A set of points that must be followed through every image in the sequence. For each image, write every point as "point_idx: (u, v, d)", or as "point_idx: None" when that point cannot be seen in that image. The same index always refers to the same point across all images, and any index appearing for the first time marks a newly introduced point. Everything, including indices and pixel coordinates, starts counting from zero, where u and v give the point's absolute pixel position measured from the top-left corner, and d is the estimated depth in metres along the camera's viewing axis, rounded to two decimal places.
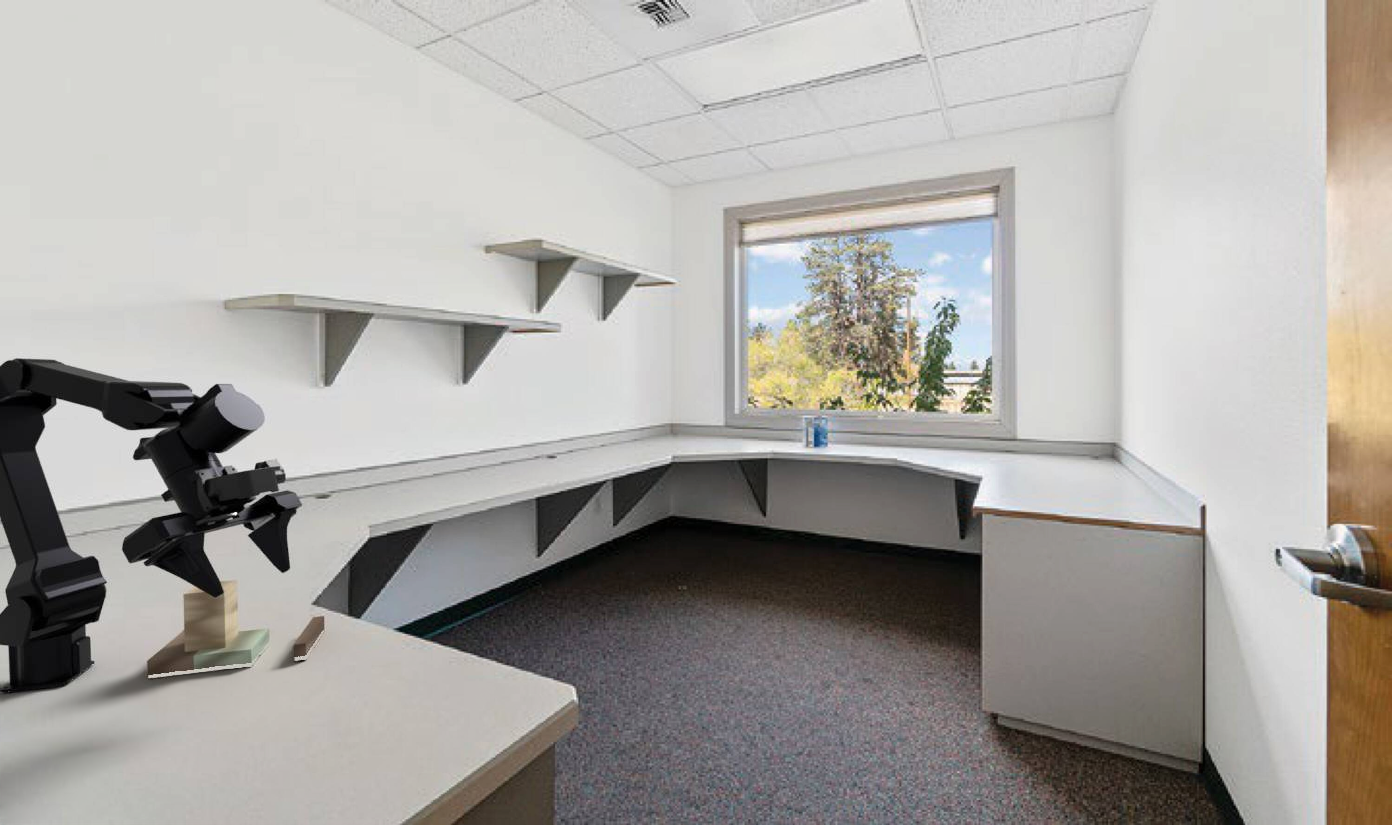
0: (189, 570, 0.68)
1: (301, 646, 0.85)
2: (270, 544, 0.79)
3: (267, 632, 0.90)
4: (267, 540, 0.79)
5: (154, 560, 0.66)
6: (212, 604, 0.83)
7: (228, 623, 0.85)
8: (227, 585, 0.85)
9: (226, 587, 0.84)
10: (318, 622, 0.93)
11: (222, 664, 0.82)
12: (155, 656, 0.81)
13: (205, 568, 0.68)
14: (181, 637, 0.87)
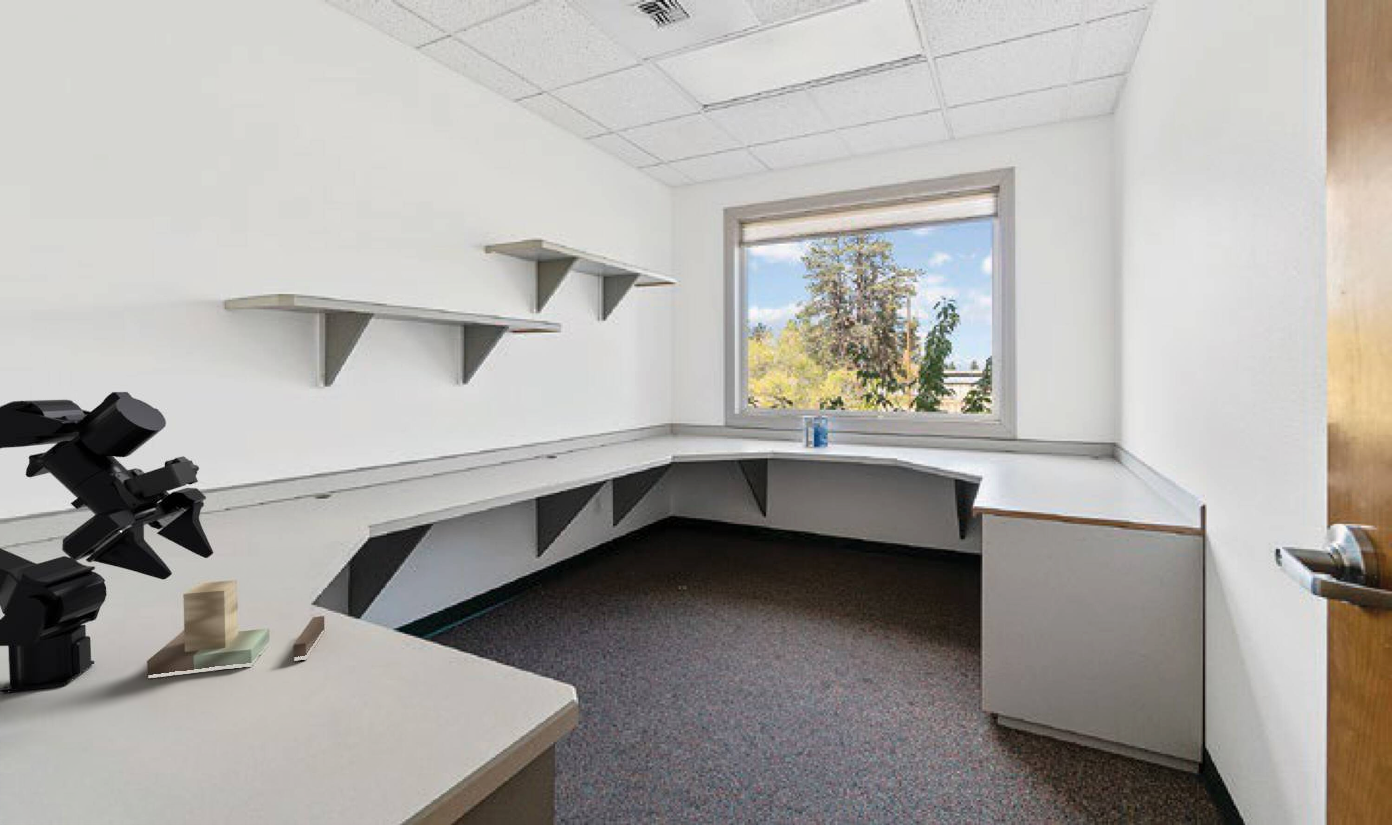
0: (133, 559, 0.75)
1: (301, 646, 0.85)
2: (187, 535, 0.85)
3: (267, 632, 0.90)
4: (182, 532, 0.85)
5: (99, 554, 0.73)
6: (212, 604, 0.83)
7: (228, 623, 0.85)
8: (227, 585, 0.85)
9: (226, 587, 0.84)
10: (318, 622, 0.93)
11: (222, 664, 0.82)
12: (155, 656, 0.81)
13: (151, 554, 0.76)
14: (181, 637, 0.87)
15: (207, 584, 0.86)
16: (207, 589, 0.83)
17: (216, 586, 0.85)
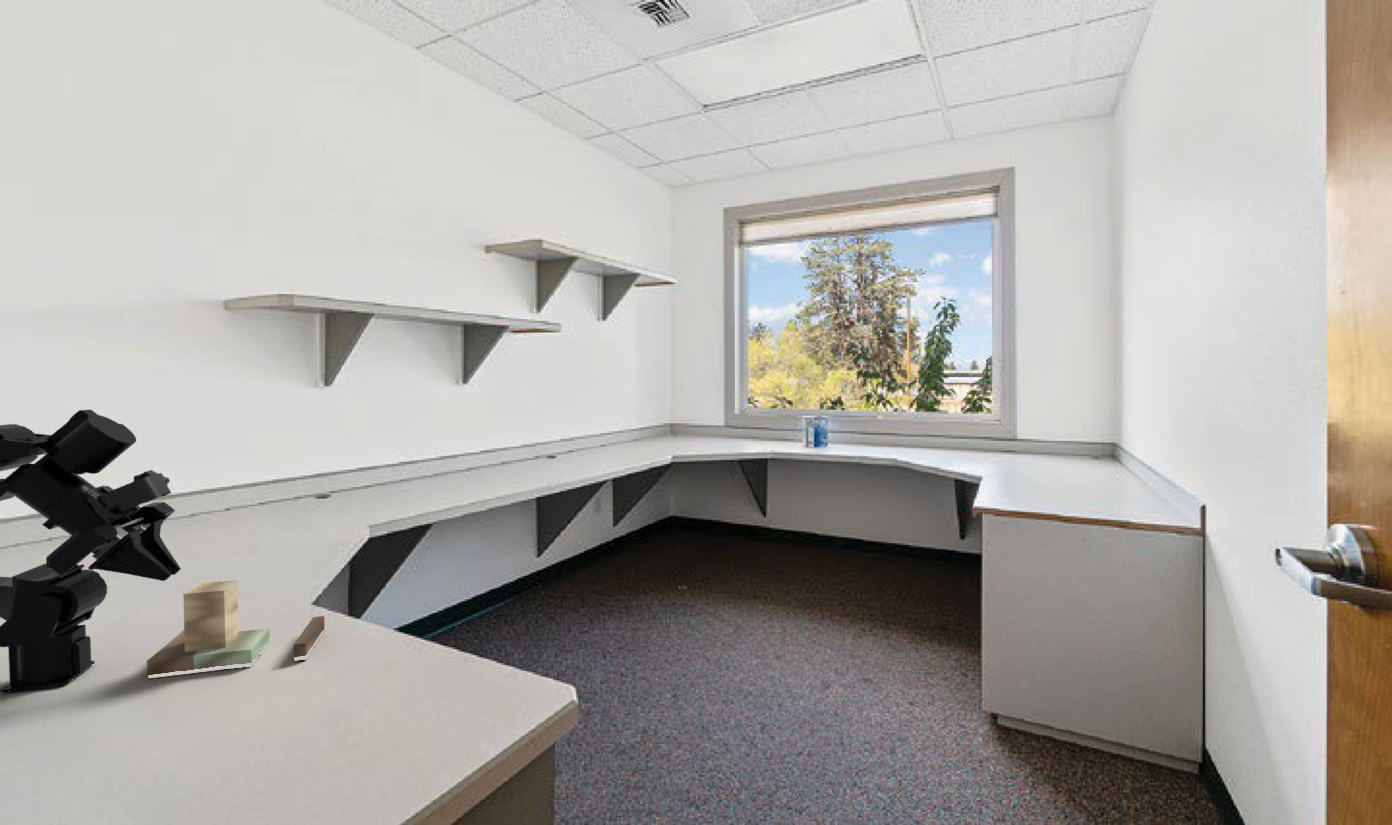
0: (133, 564, 0.80)
1: (301, 646, 0.85)
2: (150, 554, 0.83)
3: (267, 632, 0.90)
4: None
5: (101, 561, 0.77)
6: (212, 604, 0.83)
7: (228, 623, 0.85)
8: (227, 585, 0.85)
9: (226, 587, 0.84)
10: (318, 622, 0.93)
11: (222, 664, 0.82)
12: (155, 656, 0.81)
13: (150, 558, 0.80)
14: (181, 637, 0.87)
15: (207, 584, 0.86)
16: (207, 589, 0.83)
17: (216, 586, 0.85)
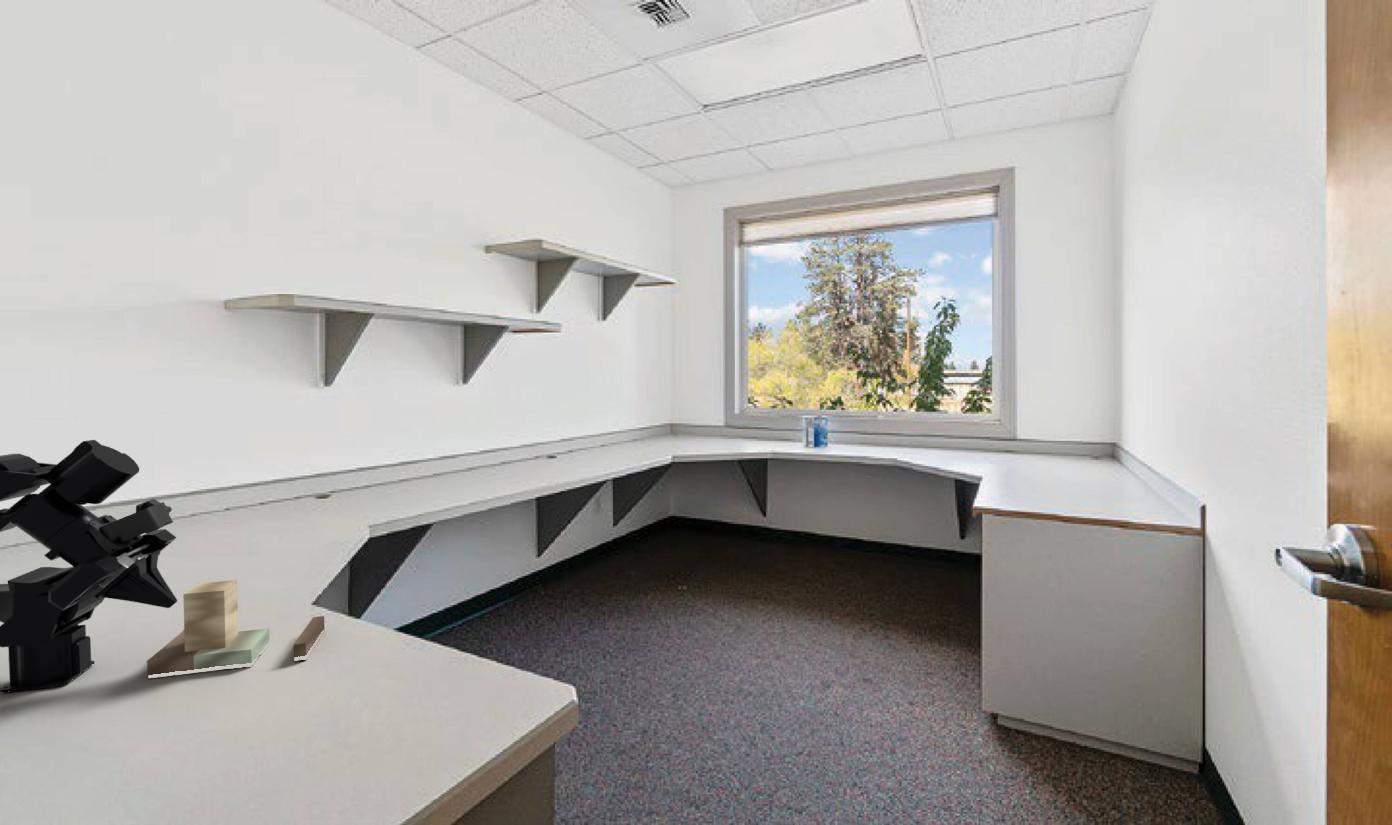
0: (139, 592, 0.81)
1: (301, 646, 0.85)
2: None
3: (267, 632, 0.90)
4: None
5: (107, 590, 0.78)
6: (212, 604, 0.83)
7: (228, 623, 0.85)
8: (227, 585, 0.85)
9: (226, 587, 0.84)
10: (318, 622, 0.93)
11: (222, 664, 0.82)
12: (155, 656, 0.81)
13: (155, 585, 0.82)
14: (181, 637, 0.87)
15: (207, 584, 0.86)
16: (207, 589, 0.83)
17: (216, 586, 0.85)
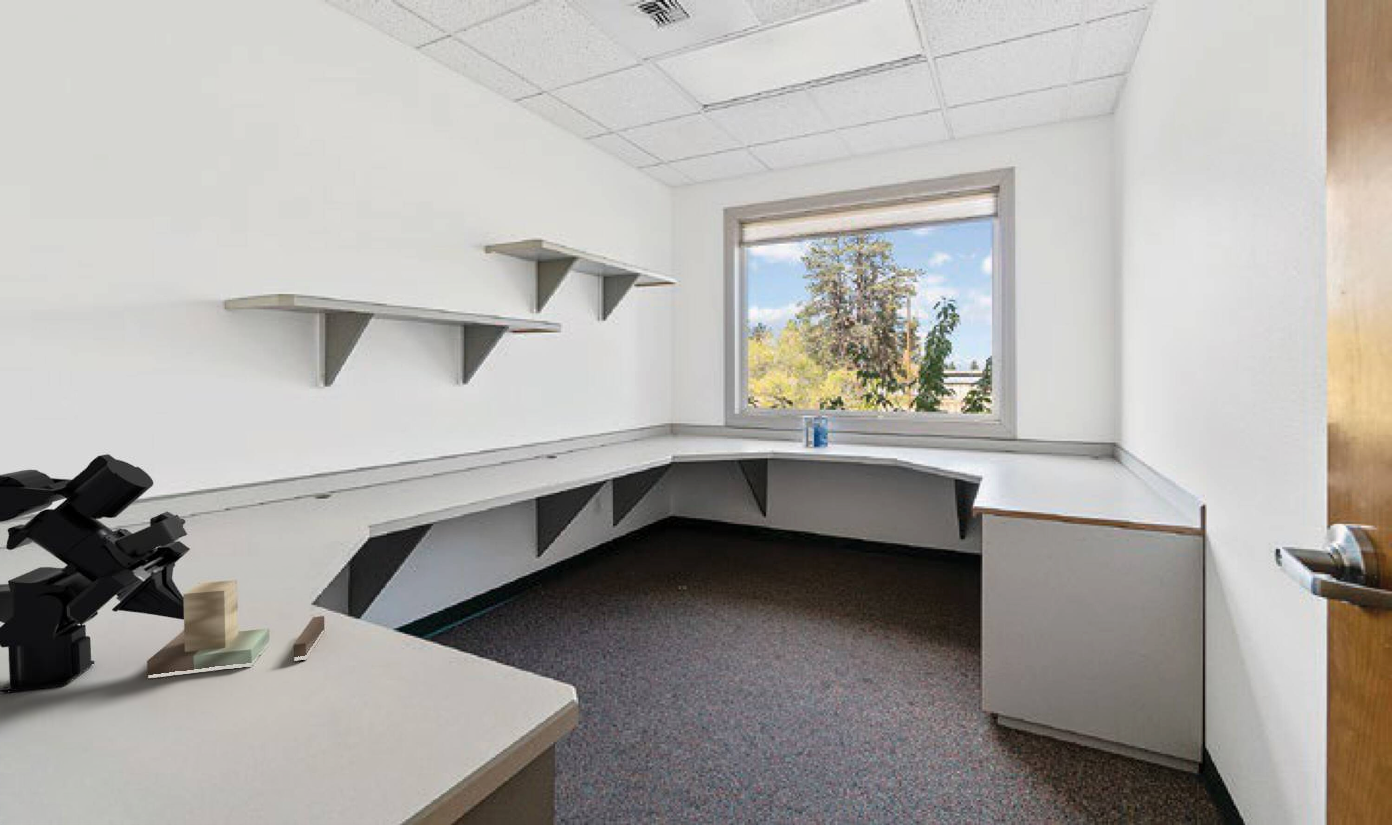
0: (155, 604, 0.81)
1: (301, 646, 0.85)
2: None
3: (267, 632, 0.90)
4: None
5: (124, 603, 0.79)
6: (212, 604, 0.83)
7: (228, 623, 0.85)
8: (227, 585, 0.85)
9: (226, 587, 0.84)
10: (318, 622, 0.93)
11: (222, 664, 0.82)
12: (155, 656, 0.81)
13: (171, 597, 0.82)
14: (181, 637, 0.87)
15: (207, 584, 0.86)
16: (207, 589, 0.83)
17: (216, 586, 0.85)
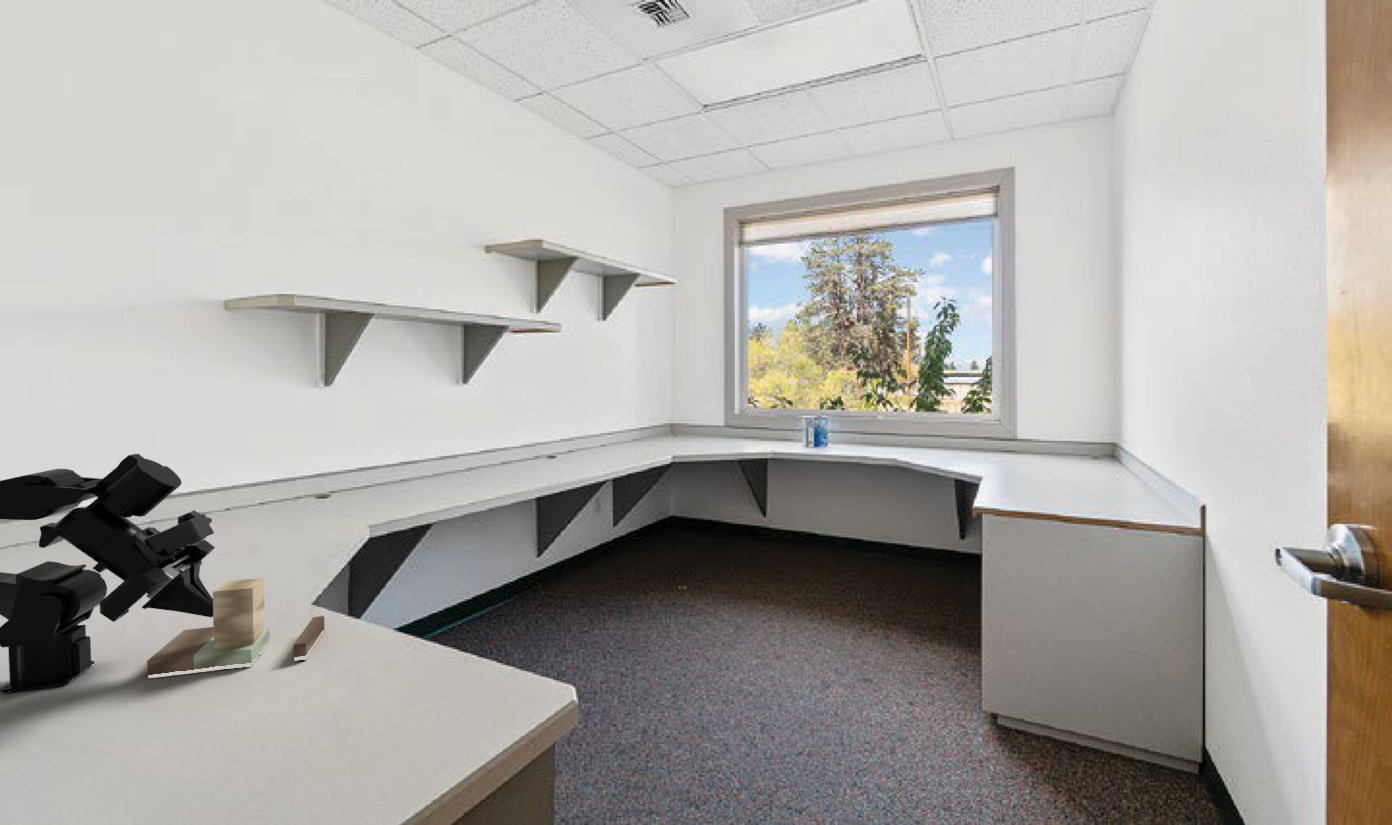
0: (183, 602, 0.83)
1: (301, 646, 0.85)
2: None
3: (267, 632, 0.90)
4: None
5: (154, 601, 0.80)
6: (241, 602, 0.84)
7: (256, 620, 0.86)
8: (255, 583, 0.86)
9: (254, 585, 0.86)
10: (318, 622, 0.93)
11: (222, 664, 0.82)
12: (155, 656, 0.81)
13: (199, 595, 0.83)
14: (181, 637, 0.87)
15: (235, 582, 0.87)
16: (235, 587, 0.84)
17: (243, 583, 0.86)
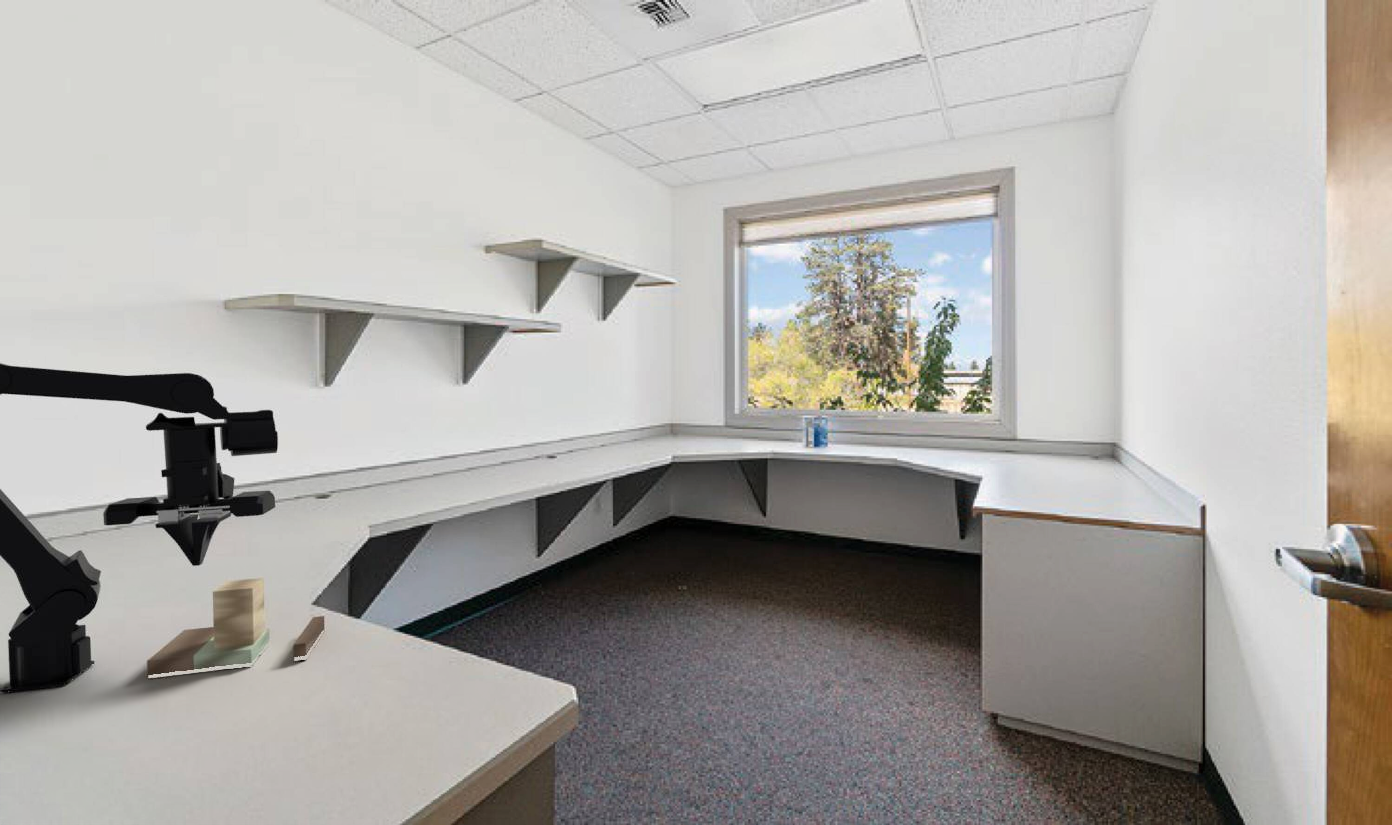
0: (206, 538, 0.89)
1: (301, 646, 0.85)
2: (192, 538, 0.88)
3: (267, 632, 0.90)
4: (190, 533, 0.88)
5: (219, 521, 0.88)
6: (241, 602, 0.84)
7: (256, 620, 0.86)
8: (255, 583, 0.86)
9: (254, 585, 0.86)
10: (318, 622, 0.93)
11: (222, 664, 0.82)
12: (155, 656, 0.81)
13: None
14: (181, 637, 0.87)
15: (235, 582, 0.87)
16: (235, 587, 0.84)
17: (243, 583, 0.86)
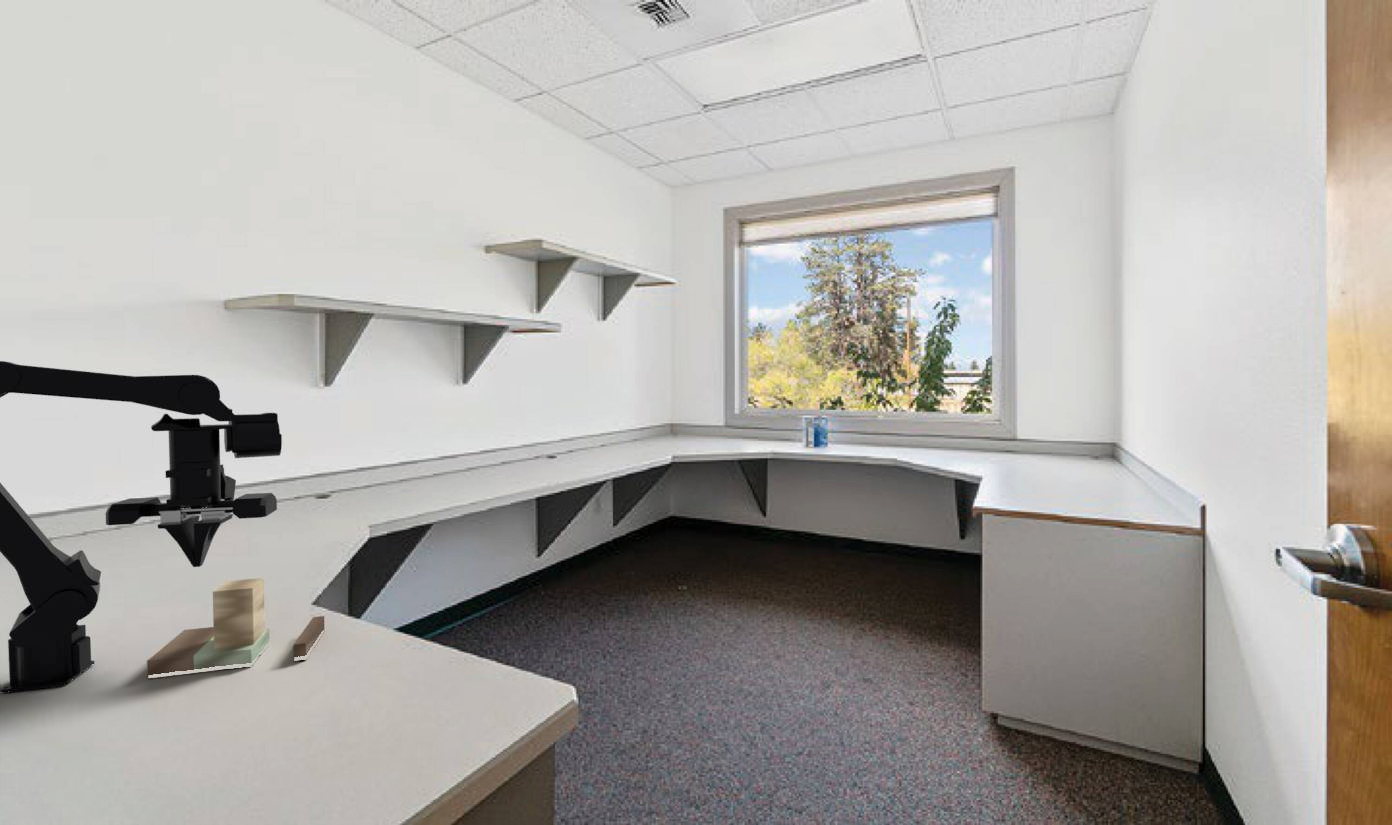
0: (207, 539, 0.89)
1: (301, 646, 0.85)
2: (193, 539, 0.88)
3: (267, 632, 0.90)
4: (191, 534, 0.88)
5: None
6: (241, 602, 0.84)
7: (256, 620, 0.86)
8: (255, 583, 0.86)
9: (254, 585, 0.86)
10: (318, 622, 0.93)
11: (222, 664, 0.82)
12: (155, 656, 0.81)
13: None
14: (181, 637, 0.87)
15: (235, 582, 0.87)
16: (235, 587, 0.84)
17: (243, 583, 0.86)
